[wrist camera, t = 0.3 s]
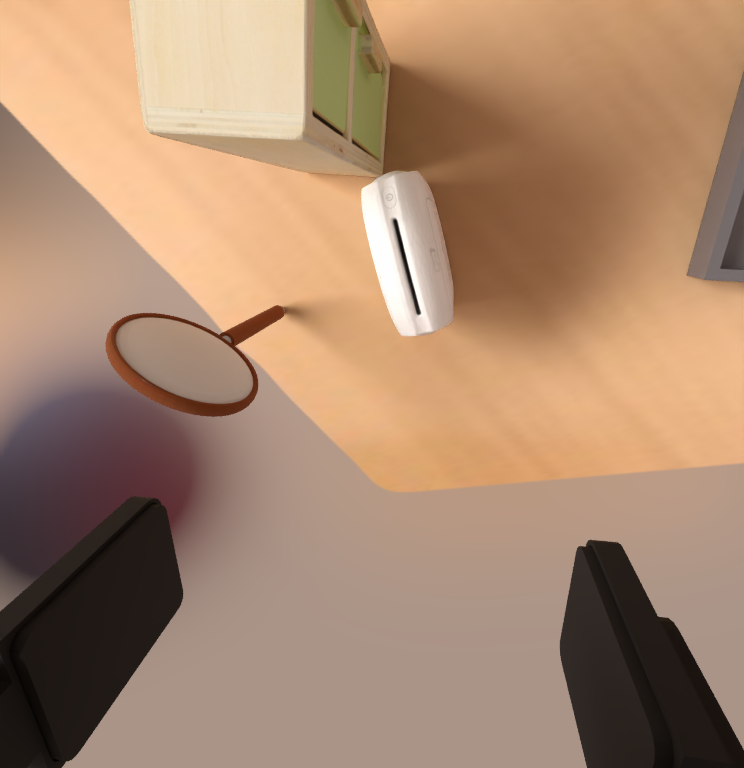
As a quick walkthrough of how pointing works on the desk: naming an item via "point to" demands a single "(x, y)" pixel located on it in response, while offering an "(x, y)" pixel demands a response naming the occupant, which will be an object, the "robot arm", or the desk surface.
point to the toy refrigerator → (266, 80)
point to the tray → (724, 210)
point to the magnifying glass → (187, 361)
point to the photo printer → (409, 252)
